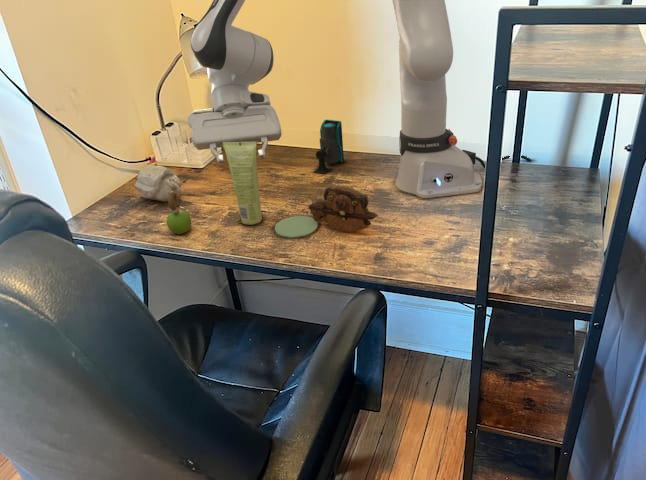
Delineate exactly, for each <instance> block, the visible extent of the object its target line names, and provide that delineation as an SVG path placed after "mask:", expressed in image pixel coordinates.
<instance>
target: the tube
mask: <svg viewBox="0 0 646 480" xmlns="http://www.w3.org/2000/svg"><path fill="white" fill-rule="evenodd" d="M257 145H258V143H256V142H223V147H222V148H223V150H224V153H225V156H226V160H227V163H228V167H229V171H230V175H231V180H232V183H233V188H234V192H235V197H236V202H237V206H238V211H239V217H240V222H241V223H242V224H243V225H248V226H251V225H257V224H259V223H261V222H262V220H263V215H262V208H261V207H262V206H261V198H260V186H259V177H258V161H257Z"/></svg>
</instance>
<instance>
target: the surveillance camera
mask: <svg viewBox="0 0 646 480" xmlns="http://www.w3.org/2000/svg"><path fill="white" fill-rule="evenodd" d="M319 135H320V138H319V150H317V151H316V152H315V157H316V159H317V160H318V168H316V169H315V170H314V171H313V173H316V174H322V175H326V174H327V173H328V172H330V171H331V170H332V168H330V167H327V166H326V164H336V163H344V162H345V158H344V157H345V156H344V143H343V142H344V141H343V126H342V121H341V120H336V119H335V120H333V119H324V120H323V121H322V123H321V125H320V129H319Z"/></svg>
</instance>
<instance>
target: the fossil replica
mask: <svg viewBox="0 0 646 480" xmlns="http://www.w3.org/2000/svg"><path fill="white" fill-rule="evenodd" d="M169 179H171V181H169ZM172 179H174V181H172ZM171 184H175V185H176V190H177V194H178V197H180V195H181V193H182V191H181V186H182V182H181V180H180V178H179V177H178V176H177V174H175V173H174V171H172V170H171V169H170V168H168V167H166V166H163V165H156V164H154V163H151V164H149V165H146V166H144V167H142V168H141V169H140V170H139V171H138V174H137V177H136V182H135V184H134V188H135V189H136V191H138V193H139V194H140V195H141V197H142V198H144V199H147V200H153V201H157V202H163V203H167V202H168V194H169V192H170V191H171V188H170V185H171Z"/></svg>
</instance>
